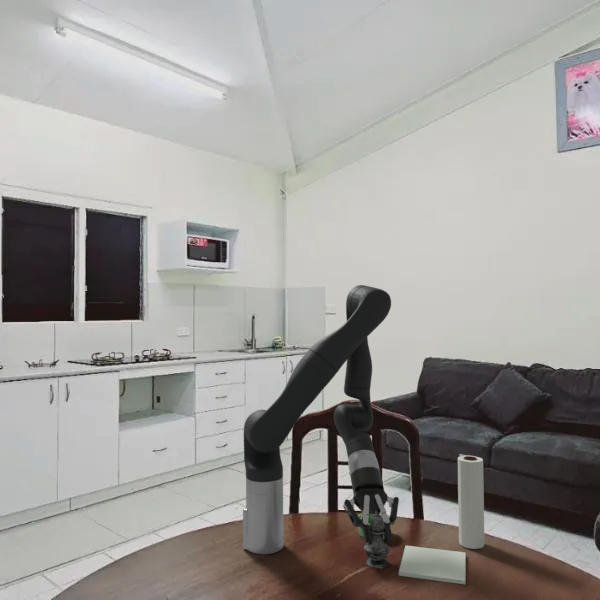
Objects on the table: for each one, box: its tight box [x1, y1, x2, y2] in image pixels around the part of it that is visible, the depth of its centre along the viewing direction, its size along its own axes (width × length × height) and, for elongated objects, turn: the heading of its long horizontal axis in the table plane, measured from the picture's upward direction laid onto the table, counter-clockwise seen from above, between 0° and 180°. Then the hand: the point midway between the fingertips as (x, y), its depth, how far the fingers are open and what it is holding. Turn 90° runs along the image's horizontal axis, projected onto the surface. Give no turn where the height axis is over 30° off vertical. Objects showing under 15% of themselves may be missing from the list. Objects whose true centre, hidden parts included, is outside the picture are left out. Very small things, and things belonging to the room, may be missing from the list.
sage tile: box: [398, 545, 466, 585], centre depth 123 cm, size 14×14×1 cm
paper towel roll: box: [457, 453, 485, 550], centre depth 134 cm, size 7×6×21 cm
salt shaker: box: [363, 511, 390, 569], centre depth 124 cm, size 6×6×12 cm
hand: (379, 542), depth 122 cm, fingers closed on salt shaker, 3 cm apart
